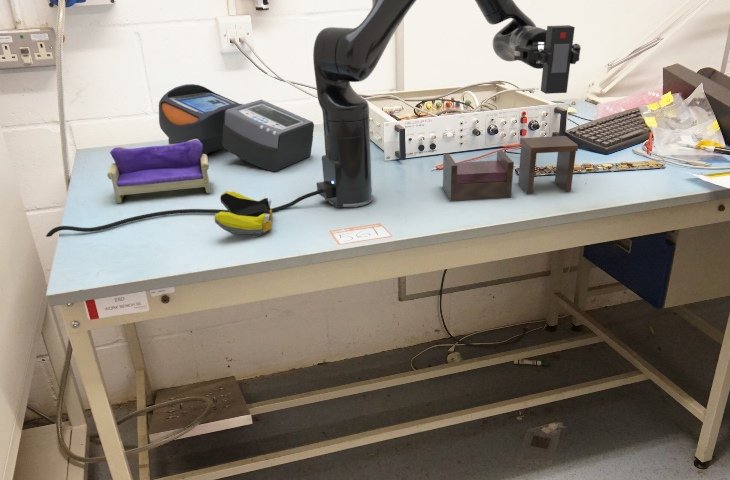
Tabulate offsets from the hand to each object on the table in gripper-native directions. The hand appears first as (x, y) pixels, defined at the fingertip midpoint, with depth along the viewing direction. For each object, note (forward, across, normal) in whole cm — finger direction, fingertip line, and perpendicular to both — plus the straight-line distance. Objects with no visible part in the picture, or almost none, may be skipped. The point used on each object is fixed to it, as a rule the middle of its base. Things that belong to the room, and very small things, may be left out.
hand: (562, 58), depth 126 cm
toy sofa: (-14, -83, +27) cm, 89 cm away
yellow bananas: (+10, -63, +27) cm, 70 cm away
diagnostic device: (-41, -68, +27) cm, 84 cm away
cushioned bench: (-2, -15, +27) cm, 31 cm away
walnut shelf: (-3, 0, +27) cm, 27 cm away
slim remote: (-3, 0, +7) cm, 7 cm away
